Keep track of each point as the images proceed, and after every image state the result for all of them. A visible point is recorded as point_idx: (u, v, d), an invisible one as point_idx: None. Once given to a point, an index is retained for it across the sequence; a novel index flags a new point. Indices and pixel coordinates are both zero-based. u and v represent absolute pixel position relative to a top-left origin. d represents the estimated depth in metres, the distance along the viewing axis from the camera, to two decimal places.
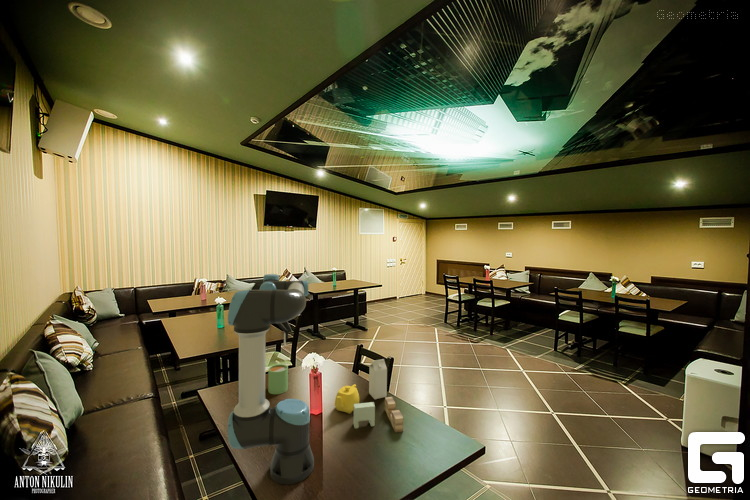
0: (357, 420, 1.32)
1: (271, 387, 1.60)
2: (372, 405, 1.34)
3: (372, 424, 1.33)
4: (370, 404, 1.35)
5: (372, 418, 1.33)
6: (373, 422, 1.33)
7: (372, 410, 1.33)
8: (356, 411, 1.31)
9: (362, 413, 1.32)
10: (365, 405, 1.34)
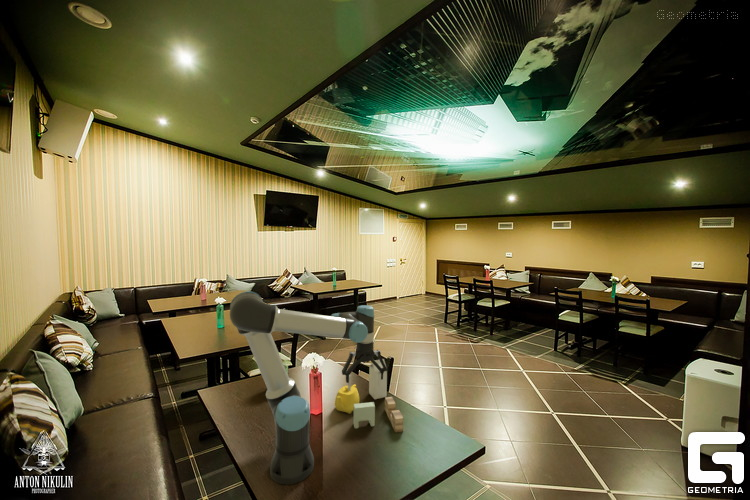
0: (357, 420, 1.32)
1: None
2: (372, 405, 1.34)
3: (372, 424, 1.33)
4: (370, 404, 1.35)
5: (372, 418, 1.33)
6: (373, 422, 1.33)
7: (372, 410, 1.33)
8: (356, 411, 1.31)
9: (362, 413, 1.32)
10: (365, 405, 1.34)
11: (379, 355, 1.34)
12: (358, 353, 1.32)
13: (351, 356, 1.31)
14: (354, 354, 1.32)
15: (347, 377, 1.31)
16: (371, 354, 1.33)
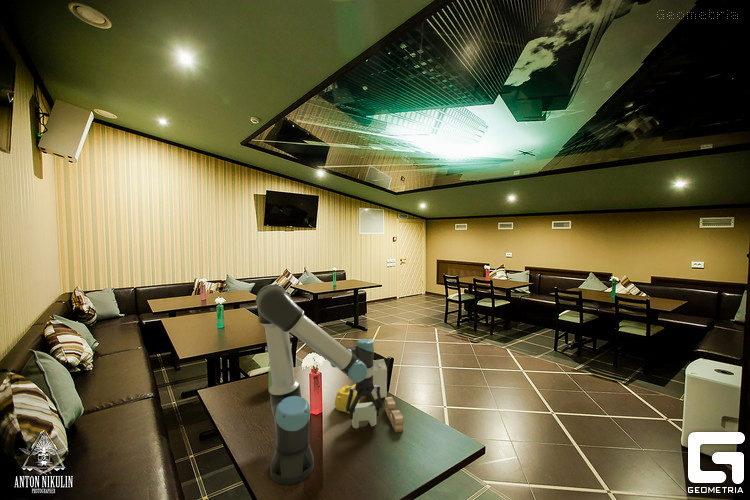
0: (357, 420, 1.32)
1: None
2: (372, 405, 1.34)
3: (372, 424, 1.33)
4: (370, 404, 1.35)
5: (372, 418, 1.33)
6: (373, 422, 1.33)
7: (372, 410, 1.33)
8: (356, 411, 1.32)
9: (362, 413, 1.32)
10: (365, 405, 1.34)
11: (378, 390, 1.34)
12: (357, 387, 1.32)
13: (351, 392, 1.31)
14: (354, 389, 1.32)
15: (351, 414, 1.32)
16: (371, 388, 1.33)
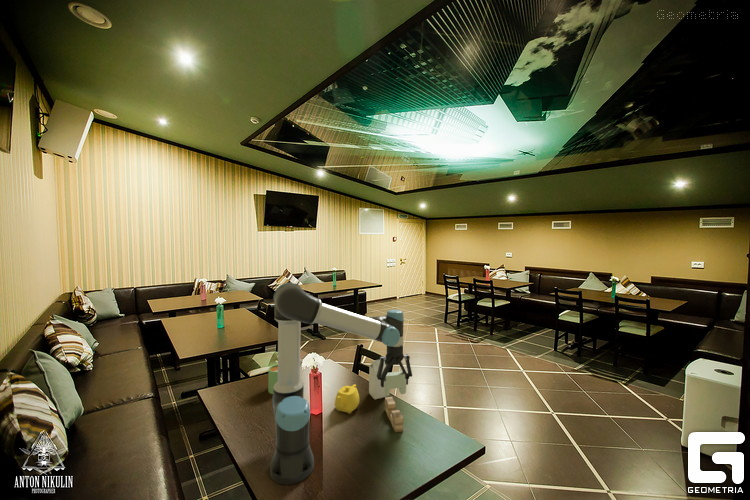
0: (388, 388, 1.35)
1: (271, 387, 1.60)
2: (402, 374, 1.38)
3: (402, 392, 1.37)
4: (400, 373, 1.38)
5: (402, 386, 1.37)
6: (403, 390, 1.37)
7: (403, 378, 1.37)
8: (387, 379, 1.35)
9: (393, 381, 1.36)
10: (395, 374, 1.37)
11: (408, 359, 1.38)
12: (388, 356, 1.36)
13: (382, 360, 1.35)
14: (384, 358, 1.36)
15: (382, 382, 1.36)
16: (401, 357, 1.37)
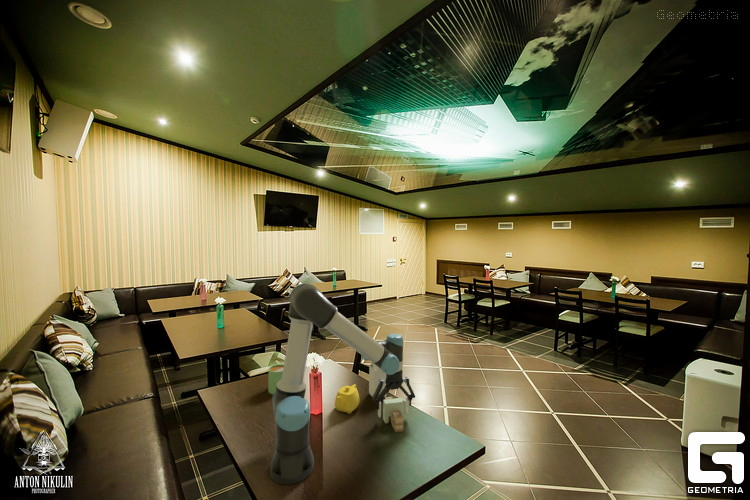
0: (387, 415, 1.36)
1: (271, 387, 1.60)
2: (401, 401, 1.38)
3: None
4: (399, 400, 1.39)
5: (401, 413, 1.37)
6: None
7: (402, 406, 1.37)
8: (386, 406, 1.36)
9: (392, 408, 1.36)
10: (394, 401, 1.38)
11: (408, 382, 1.38)
12: (388, 381, 1.36)
13: (381, 384, 1.35)
14: (384, 382, 1.36)
15: (377, 404, 1.36)
16: (400, 381, 1.37)
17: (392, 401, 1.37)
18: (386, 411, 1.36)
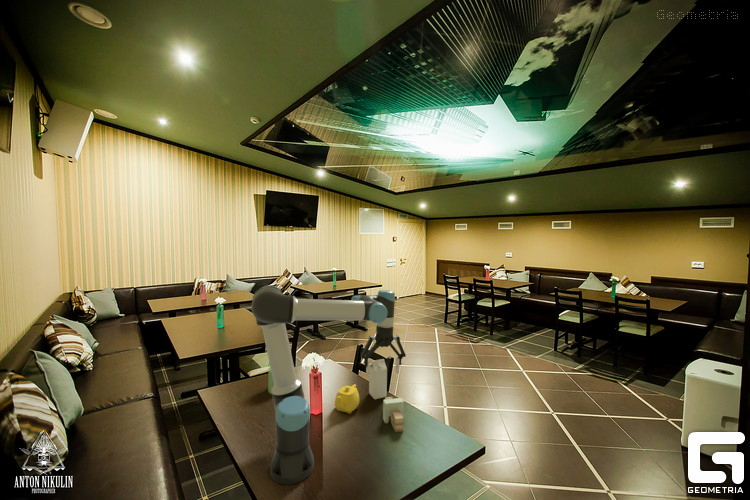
0: (387, 415, 1.36)
1: (271, 387, 1.60)
2: (401, 401, 1.38)
3: None
4: (399, 400, 1.39)
5: (401, 413, 1.37)
6: None
7: (402, 406, 1.37)
8: (386, 406, 1.36)
9: (392, 408, 1.36)
10: (394, 401, 1.38)
11: (398, 340, 1.34)
12: (378, 337, 1.31)
13: (371, 340, 1.31)
14: (374, 338, 1.32)
15: (366, 361, 1.31)
16: (390, 339, 1.33)
17: (392, 401, 1.37)
18: (386, 411, 1.36)
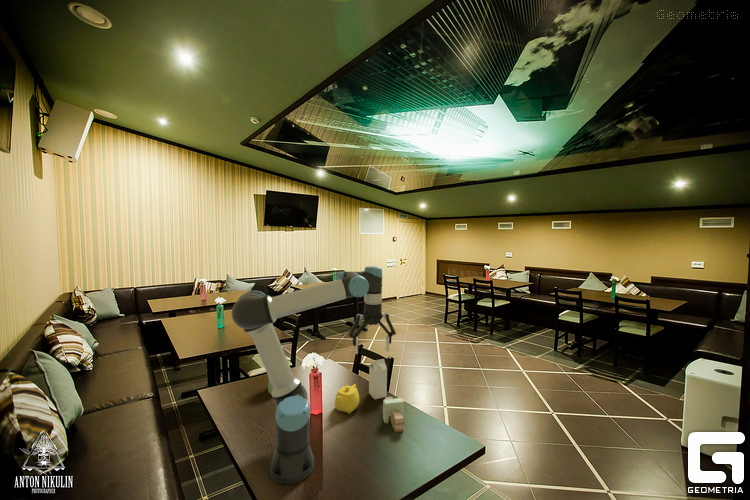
0: (387, 415, 1.36)
1: (271, 387, 1.60)
2: (401, 401, 1.38)
3: None
4: (399, 400, 1.39)
5: (401, 413, 1.37)
6: None
7: (402, 406, 1.37)
8: (386, 406, 1.36)
9: (392, 408, 1.36)
10: (394, 401, 1.38)
11: (387, 318, 1.29)
12: (366, 315, 1.27)
13: (358, 318, 1.26)
14: (361, 316, 1.27)
15: (354, 340, 1.26)
16: (379, 316, 1.28)
17: (392, 401, 1.37)
18: (386, 411, 1.36)
